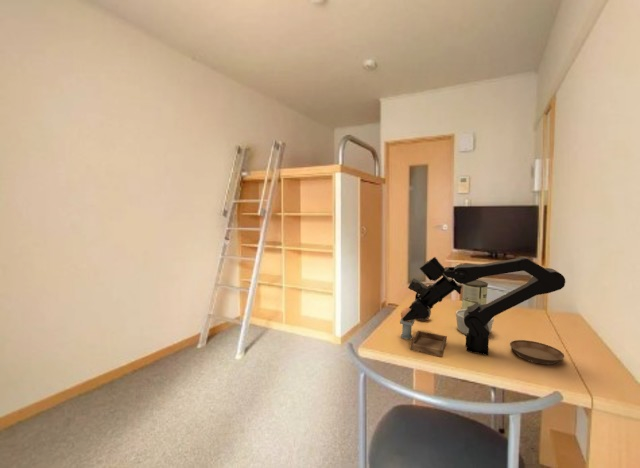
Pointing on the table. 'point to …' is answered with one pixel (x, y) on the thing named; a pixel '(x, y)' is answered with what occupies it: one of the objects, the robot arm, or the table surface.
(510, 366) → the table surface
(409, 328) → the stand
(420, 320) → the vase
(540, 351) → the saucer
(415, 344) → the tray
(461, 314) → the ramekin
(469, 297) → the coffee can
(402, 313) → the ball
